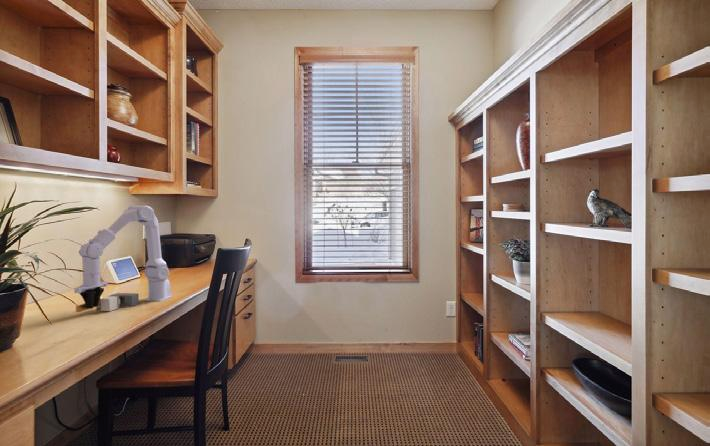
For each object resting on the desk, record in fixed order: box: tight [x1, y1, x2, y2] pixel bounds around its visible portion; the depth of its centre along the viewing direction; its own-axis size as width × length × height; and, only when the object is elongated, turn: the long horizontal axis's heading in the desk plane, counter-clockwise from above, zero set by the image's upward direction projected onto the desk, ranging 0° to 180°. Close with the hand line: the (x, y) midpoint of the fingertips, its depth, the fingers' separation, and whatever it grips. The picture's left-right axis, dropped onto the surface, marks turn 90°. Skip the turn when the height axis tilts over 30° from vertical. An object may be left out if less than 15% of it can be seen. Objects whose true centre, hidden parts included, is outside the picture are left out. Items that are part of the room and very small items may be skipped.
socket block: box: [95, 292, 140, 311], centre depth 167 cm, size 11×11×5 cm
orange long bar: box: [75, 296, 103, 313], centre depth 157 cm, size 12×1×4 cm, turn 173°
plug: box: [100, 295, 120, 312], centre depth 163 cm, size 7×4×5 cm, turn 172°
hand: (92, 307), depth 156 cm, fingers closed, pressing on orange long bar
